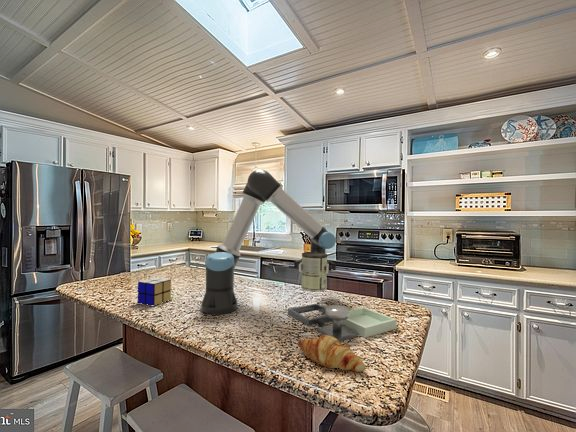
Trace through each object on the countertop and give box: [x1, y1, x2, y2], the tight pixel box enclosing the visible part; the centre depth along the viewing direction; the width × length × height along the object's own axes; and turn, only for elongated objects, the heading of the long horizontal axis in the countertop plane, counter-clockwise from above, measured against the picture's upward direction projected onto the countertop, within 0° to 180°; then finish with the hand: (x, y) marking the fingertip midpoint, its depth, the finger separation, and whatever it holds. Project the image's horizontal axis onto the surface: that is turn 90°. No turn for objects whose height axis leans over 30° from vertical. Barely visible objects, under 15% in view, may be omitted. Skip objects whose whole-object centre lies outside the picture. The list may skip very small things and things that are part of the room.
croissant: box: [297, 334, 366, 373], centre depth 80 cm, size 21×10×8 cm, turn 53°
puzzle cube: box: [137, 277, 172, 306], centre depth 131 cm, size 10×10×10 cm
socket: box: [287, 303, 333, 327], centre depth 115 cm, size 15×15×2 cm
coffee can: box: [300, 251, 328, 293], centre depth 115 cm, size 10×10×14 cm
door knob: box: [316, 304, 359, 342], centre depth 101 cm, size 10×15×9 cm, turn 31°
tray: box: [342, 306, 398, 339], centre depth 106 cm, size 16×16×3 cm
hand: (313, 269), depth 111 cm, fingers closed on coffee can, 10 cm apart
